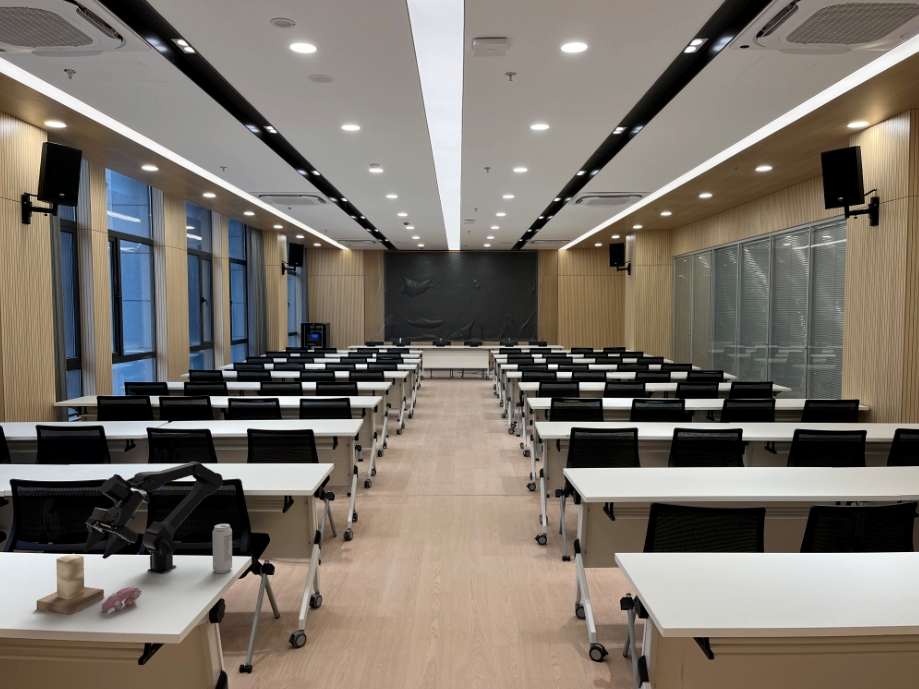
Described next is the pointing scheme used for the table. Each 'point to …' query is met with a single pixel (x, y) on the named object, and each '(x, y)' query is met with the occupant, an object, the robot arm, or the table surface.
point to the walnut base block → (70, 601)
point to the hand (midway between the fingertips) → (94, 554)
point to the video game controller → (121, 598)
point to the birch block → (70, 576)
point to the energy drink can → (222, 548)
